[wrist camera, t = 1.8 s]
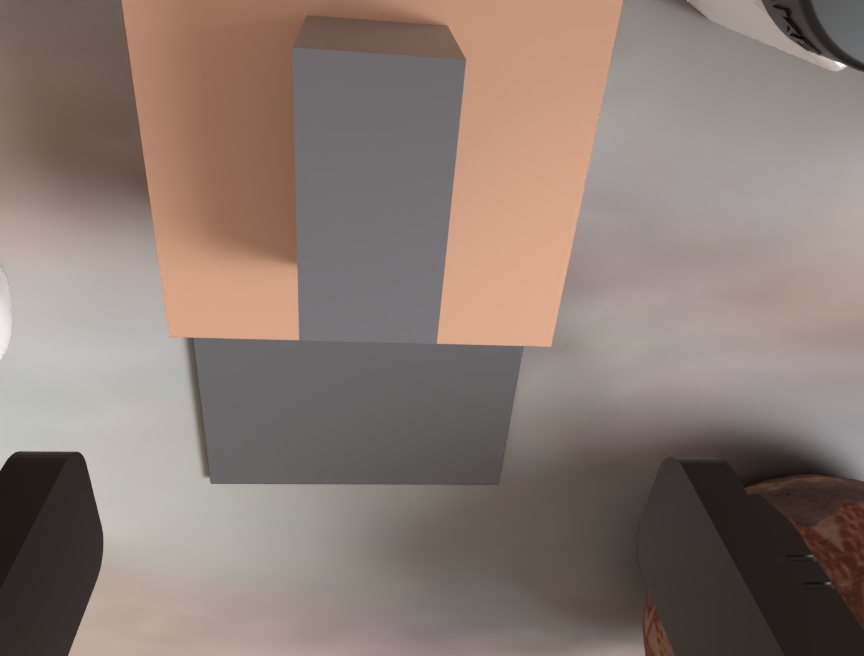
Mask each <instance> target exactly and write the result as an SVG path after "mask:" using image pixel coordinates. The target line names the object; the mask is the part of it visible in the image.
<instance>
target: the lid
mask: <svg viewBox="0 0 864 656" xmlns="http://www.w3.org/2000/svg"><path fill="white" fill-rule="evenodd" d="M121 1H122V8H123V15H124V22H125V29H126V36H127V43H128V50H129V57H130V64H131V71H132V78H133V85H134V92H135V99H136V106H137V113H138V120H139V128H140V135H141V142H142V149H143V156H144V163H145V170H146V177H147V184H148V191H149V198H150V205H151V212H152V219H153V226H154V233H155V240H156V247H157V254H158V261H159V268H160V276H161V283H162V290H163V297H164V304H165V311H166V318H167V325H168V332H169V337H190V338H229V339H269V340H301V341H340V342H380V343H419V344H466V345H505V346H544V347H551V344H552V340H553V335H554V330H555V325H556V320H557V316H558V311H559V306H560V301H561V297H562V292H563V287H564V282H565V277H566V273H567V268H568V263H569V258H570V254H571V249H572V244H573V239H574V234H575V230H576V225H577V220H578V215H579V210H580V206H581V201H582V196H583V191H584V187H585V182H586V177H587V172H588V167H589V163H590V158H591V153H592V148H593V144H594V139H595V134H596V129H597V124H598V120H599V115H600V110H601V105H602V101H603V96H604V91H605V86H606V81H607V77H608V72H609V67H610V62H611V57H612V53H613V48H614V43H615V38H616V34H617V29H618V24H619V19H620V14H621V10H622V5H623V0H121Z"/></svg>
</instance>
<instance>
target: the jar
mask: <svg viewBox="0 0 864 656" xmlns="http://www.w3.org/2000/svg"><path fill="white" fill-rule="evenodd" d="M686 1H687V2H689V3H690V4H691V5H692V6H694V7H695V8H696V9H697V10H698V11H700V12H701V13H702V14H703V15H705V16H706V17H707V18H708V19H709V20H711V21H712V22H714V23H717V24H719V25H721V26H724V27H726V28H729V29H731V30H733V31H736V32H738V33H741V34H743V35H746V36H748V37H750V38H753V39H755V40H758V41H760V42H762V43H765V44H767V45H770V46H772V47H774V48H777V49H779V50H782V51H784V52H787V53H789V54H791V55H794V56H796V57H799V58H801V59H803V60H806V61H808V62H811V63H813V64H816V65H818V66H820V67H823V68H825V69H828V70H830V71H839V70H841V69H843V68H845V67H848V66H849V67H851V68H854V69H856V70H859V71H862V72H864V0H686Z"/></svg>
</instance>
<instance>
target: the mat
mask: <svg viewBox="0 0 864 656" xmlns="http://www.w3.org/2000/svg"><path fill="white" fill-rule="evenodd" d="M193 340H194V348H195V357H196V365H197V373H198V382H199V390H200V398H201V407H202V415H203V423H204V432H205V440H206V448H207V457H208V465H209V473H210V482H211V484H457V485H498V482H499V477H500V471H501V466H502V460H503V455H504V449H505V444H506V439H507V433H508V428H509V422H510V417H511V411H512V406H513V400H514V395H515V390H516V384H517V379H518V373H519V368H520V362H521V357H522V351H523V346H505V345H466V344H419V343H380V342H340V341H301V340H269V339H229V338H193Z"/></svg>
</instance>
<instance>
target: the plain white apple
mask: <svg viewBox="0 0 864 656" xmlns="http://www.w3.org/2000/svg"><path fill="white" fill-rule="evenodd" d="M11 332H12V314H11V303H10V292H9V287H8V282H7V279H6V277H5V274H4V272H3V270H2V269H1V268H0V359H1V358H2V356H3V355H4V353H5V351H6V350H7V347H8V345H9V341H10V337H11Z"/></svg>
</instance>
